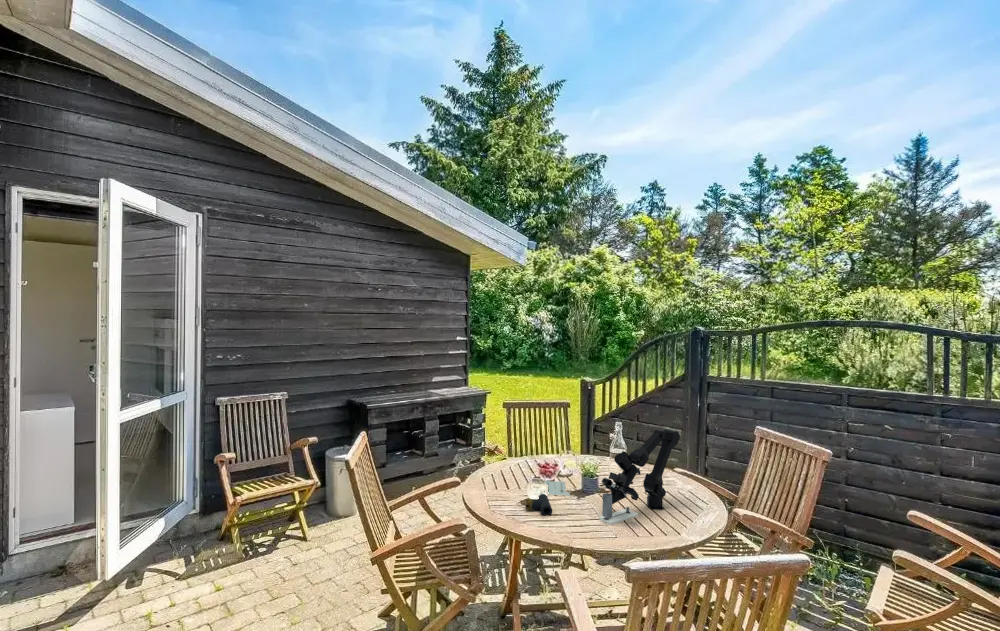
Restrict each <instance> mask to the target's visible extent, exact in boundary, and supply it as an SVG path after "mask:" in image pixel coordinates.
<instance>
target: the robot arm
mask: <svg viewBox="0 0 1000 631" xmlns="http://www.w3.org/2000/svg"><path fill="white" fill-rule="evenodd" d="M680 439H681V435H680V432H679V431H677V430H673V429H670V428H665V429H655V430H654V431H653V433H652V434H651V435H650V436H649V438H648V439H647V440H646V441H644V443H643V444H642V445H641V446H640V447H639V448H637V449H634V450H633V451H631V453H630V454H628V452H627V451H624V450H622V452H619V453H618V454H617V455H614V456H615V457H614V458H613V459H614V462H615V463H616V465H617V466H618V467H619V468H620V469H621V470H622V472H619V473H614V472H612V471H610V473H609V475H608V478H607V477H603V478H602V480H601V483H602V484H603V485H604V487H605V488H606V489H608V490H610V494H611V495H612V506H613V505H614V504H616V503H617V502H619V501H621V500H624V499H626V498H628V497H627V495H630V497H631V500H634V501H638V499H639V493H638V492H637V491H636V490H635V489H634V488H633V487H631V486H630V485H634V482H633V480H634V479H635V477H636V476H637V475H641V469H640V467H642V468H643V467H645V466H646V464H647V463H648V461H649V458H650V454H651V453H652V452H654V451H655V449H656V448H657V446H658V445H659V444H661V446H660V448H659V452H658V454H657V456H656V457H657V458H656V459H655V462H654V465H653V468H652V470H651V472H650V473H646V474H645V477H644V479H643V481H642V482H643V483H642V485H643V488H644V492H645V493H647V495H646V505H647V506H648V508H650V510H664V509H665V507H664V504H663V502H664V499H663V498H664V497H665V496H666V494H667V490H665V488H664V481H663V474H664V471H665V468H666V466H667V464H668V460H669V457H670V454H671V452H672V450H673V449H674V448H675V447H676V446H678V443H679V441H680ZM612 480H613V481H612Z"/></svg>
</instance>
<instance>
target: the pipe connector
mask: <svg viewBox="0 0 1000 631" xmlns="http://www.w3.org/2000/svg"><path fill="white" fill-rule="evenodd" d="M538 497H539V499H538V498H536V499H535V498H526V499H525V503H526V504H525V511H527V512H528V511H529V512H531V511H541V514H542V515H543V516H544V515H550V516H551V515H552V514H553V507H552V505H551V503H550V500H549V498H548V497H549V496H546V495H545V494H541V493H540V494H539V495H538Z"/></svg>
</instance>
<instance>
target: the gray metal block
mask: <svg viewBox="0 0 1000 631" xmlns="http://www.w3.org/2000/svg"><path fill="white" fill-rule="evenodd" d="M612 513H613V505H612V495H611V493H609V492H606V493H605V492H604V493H602V516H603V517H605V518H611V517H612Z"/></svg>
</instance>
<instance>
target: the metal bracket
mask: <svg viewBox="0 0 1000 631" xmlns="http://www.w3.org/2000/svg"><path fill="white" fill-rule="evenodd" d="M545 483H546V484H547V485H548V492H549V494H552V495H566V496H567V495H568V496H570V492H566V491H567V490H566V481H563V480H562V479H561V480H560V481H553V480H552V481H550V480H549V479H548V480H547V481H546V480H545V481H544V484H545Z"/></svg>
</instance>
